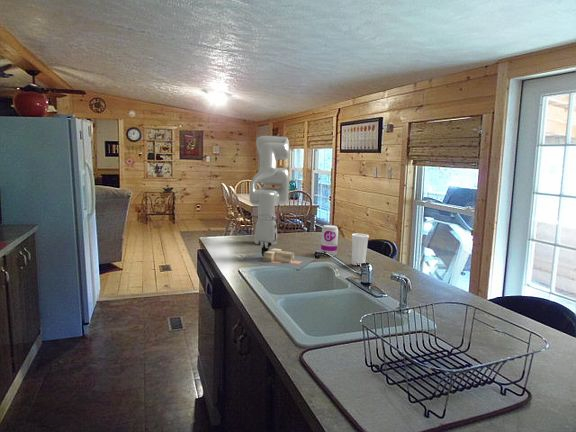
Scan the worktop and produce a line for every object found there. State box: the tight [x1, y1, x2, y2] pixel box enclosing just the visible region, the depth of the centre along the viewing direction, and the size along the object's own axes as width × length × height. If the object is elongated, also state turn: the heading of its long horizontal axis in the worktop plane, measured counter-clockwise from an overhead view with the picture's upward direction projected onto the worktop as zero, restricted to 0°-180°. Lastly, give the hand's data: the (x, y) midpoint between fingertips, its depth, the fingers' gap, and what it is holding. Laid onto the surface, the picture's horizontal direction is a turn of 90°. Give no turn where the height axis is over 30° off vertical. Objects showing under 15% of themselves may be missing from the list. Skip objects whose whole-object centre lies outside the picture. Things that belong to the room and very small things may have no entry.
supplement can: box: [320, 224, 339, 257], centre depth 221 cm, size 8×8×15 cm
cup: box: [351, 233, 370, 266], centre depth 203 cm, size 8×8×14 cm
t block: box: [263, 247, 295, 263], centre depth 205 cm, size 12×12×4 cm
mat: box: [238, 250, 317, 271], centre depth 206 cm, size 24×30×1 cm
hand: (264, 255), depth 208 cm, fingers closed
